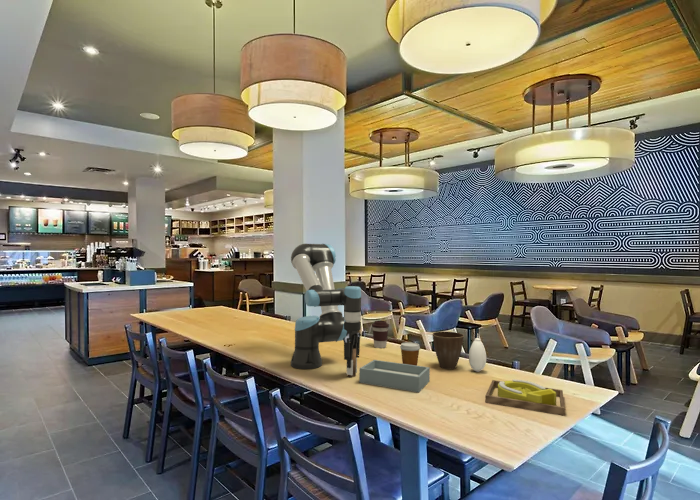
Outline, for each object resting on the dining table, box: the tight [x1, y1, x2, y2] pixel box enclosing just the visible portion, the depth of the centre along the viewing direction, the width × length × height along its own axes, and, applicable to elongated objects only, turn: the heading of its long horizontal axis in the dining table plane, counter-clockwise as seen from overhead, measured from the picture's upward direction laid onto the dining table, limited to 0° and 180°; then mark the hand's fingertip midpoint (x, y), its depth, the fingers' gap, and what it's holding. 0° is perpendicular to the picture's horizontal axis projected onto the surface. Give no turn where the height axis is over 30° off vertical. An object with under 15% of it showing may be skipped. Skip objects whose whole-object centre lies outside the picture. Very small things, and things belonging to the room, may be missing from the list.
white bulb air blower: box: [468, 333, 487, 373], centre depth 190 cm, size 8×8×18 cm
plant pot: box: [431, 331, 465, 370], centre depth 197 cm, size 15×15×16 cm
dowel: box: [347, 348, 357, 378], centre depth 181 cm, size 4×4×12 cm
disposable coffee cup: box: [399, 342, 421, 366], centre depth 191 cm, size 10×10×12 cm
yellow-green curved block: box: [497, 378, 557, 406], centre depth 154 cm, size 16×21×5 cm
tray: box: [358, 359, 431, 393], centre depth 173 cm, size 26×16×6 cm, turn 64°
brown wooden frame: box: [484, 379, 565, 416], centre depth 154 cm, size 26×21×2 cm
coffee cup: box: [371, 320, 390, 349], centre depth 238 cm, size 10×10×15 cm
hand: (351, 373), depth 181 cm, fingers closed on dowel, 3 cm apart
